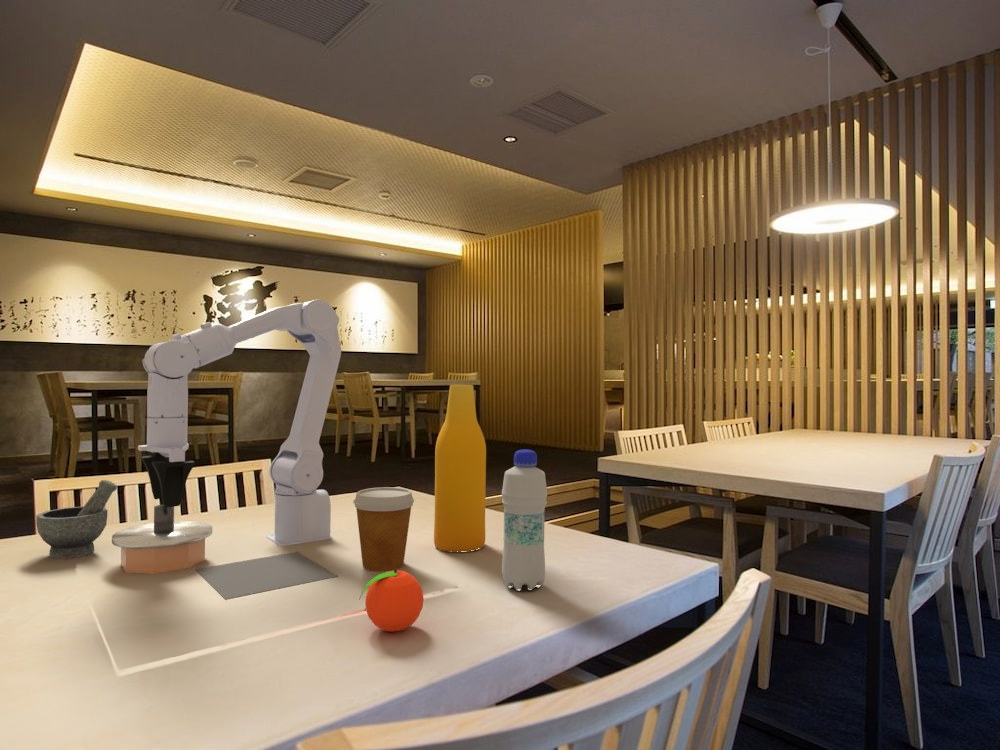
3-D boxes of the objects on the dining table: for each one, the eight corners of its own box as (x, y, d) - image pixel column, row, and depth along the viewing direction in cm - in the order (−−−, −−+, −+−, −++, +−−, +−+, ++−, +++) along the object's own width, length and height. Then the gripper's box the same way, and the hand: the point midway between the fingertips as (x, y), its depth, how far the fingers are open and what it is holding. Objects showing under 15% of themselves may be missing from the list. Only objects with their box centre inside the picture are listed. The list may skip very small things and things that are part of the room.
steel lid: (203, 522, 108) (203, 494, 108) (221, 539, 97) (221, 509, 97) (108, 533, 100) (108, 503, 100) (115, 553, 88) (116, 520, 88)
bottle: (551, 582, 92) (553, 448, 92) (539, 597, 86) (541, 453, 86) (508, 576, 94) (510, 445, 95) (493, 591, 88) (495, 450, 88)
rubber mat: (297, 554, 105) (297, 551, 105) (338, 579, 92) (338, 575, 92) (195, 572, 95) (195, 569, 95) (225, 602, 82) (225, 599, 82)
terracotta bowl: (192, 551, 106) (193, 524, 106) (210, 567, 97) (210, 538, 97) (117, 562, 99) (118, 534, 99) (129, 580, 90) (129, 550, 90)
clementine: (371, 649, 69) (372, 585, 69) (347, 628, 75) (348, 569, 75) (433, 632, 74) (434, 572, 74) (406, 614, 79) (407, 558, 79)
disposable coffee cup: (424, 563, 100) (425, 490, 100) (390, 581, 92) (391, 500, 92) (376, 556, 104) (377, 485, 104) (339, 571, 96) (340, 494, 96)
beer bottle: (472, 556, 105) (474, 385, 105) (424, 549, 109) (426, 384, 109) (493, 542, 114) (495, 385, 114) (448, 537, 117) (449, 384, 117)
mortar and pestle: (30, 564, 97) (31, 488, 97) (40, 549, 105) (41, 479, 106) (114, 555, 103) (115, 483, 103) (117, 542, 111) (118, 475, 111)
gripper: (130, 415, 102) (129, 497, 102) (148, 420, 90) (146, 513, 90) (178, 413, 106) (177, 493, 106) (200, 419, 95) (199, 507, 95)
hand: (166, 502), depth 99 cm, fingers open, 7 cm apart
